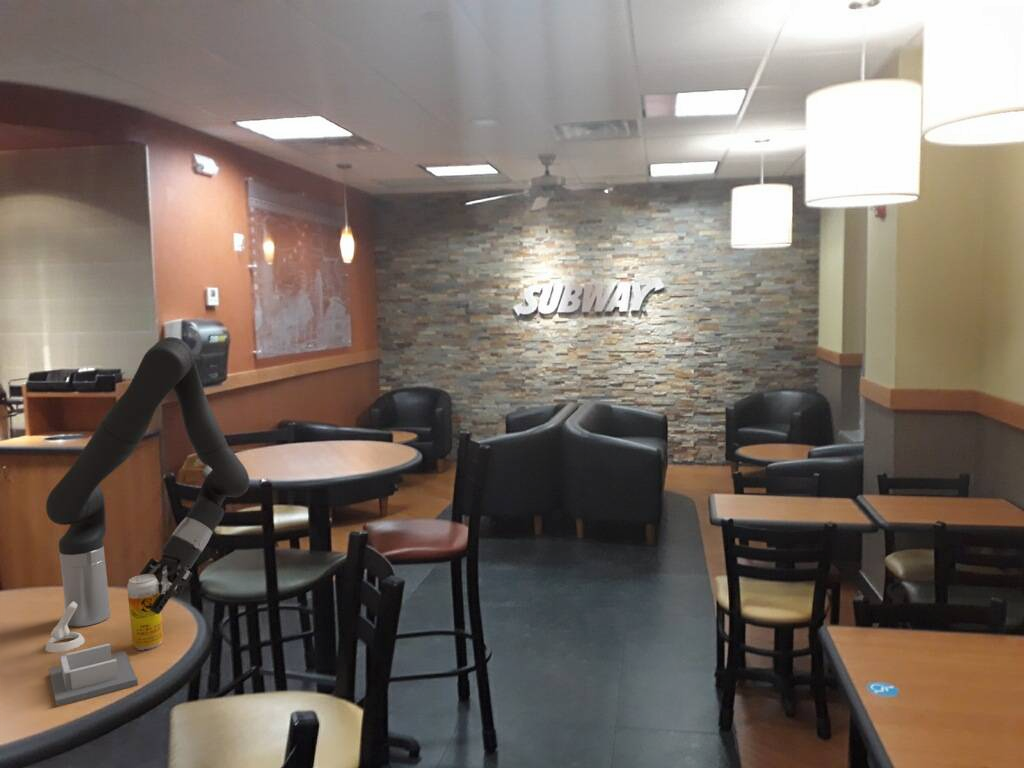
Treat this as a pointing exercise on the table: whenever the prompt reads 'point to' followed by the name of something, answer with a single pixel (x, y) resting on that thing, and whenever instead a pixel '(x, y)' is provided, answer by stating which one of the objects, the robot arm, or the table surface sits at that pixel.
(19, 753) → the table surface
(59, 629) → the hook
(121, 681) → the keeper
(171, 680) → the table surface
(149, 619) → the beer can
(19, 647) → the table surface
